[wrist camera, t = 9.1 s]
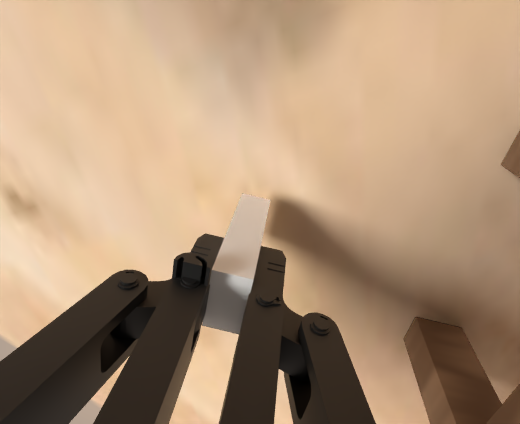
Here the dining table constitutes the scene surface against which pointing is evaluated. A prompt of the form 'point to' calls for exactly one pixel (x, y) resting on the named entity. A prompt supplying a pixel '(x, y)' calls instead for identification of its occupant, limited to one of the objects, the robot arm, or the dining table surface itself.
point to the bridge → (458, 365)
